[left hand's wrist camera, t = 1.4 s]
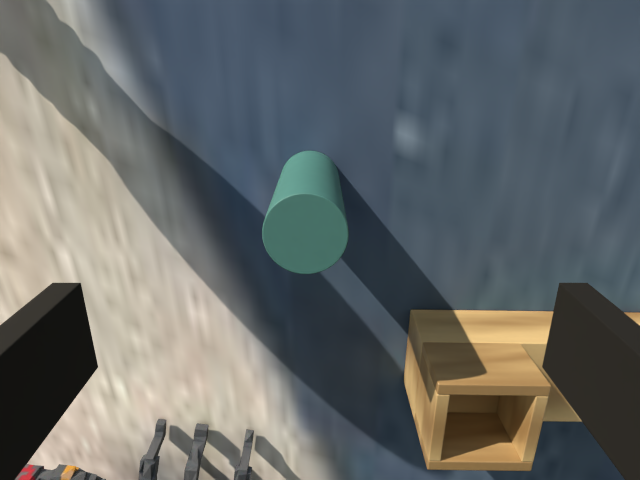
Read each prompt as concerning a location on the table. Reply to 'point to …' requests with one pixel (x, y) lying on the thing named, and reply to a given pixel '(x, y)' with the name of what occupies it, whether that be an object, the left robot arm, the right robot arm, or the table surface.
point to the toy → (148, 460)
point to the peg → (306, 215)
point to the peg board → (481, 387)
